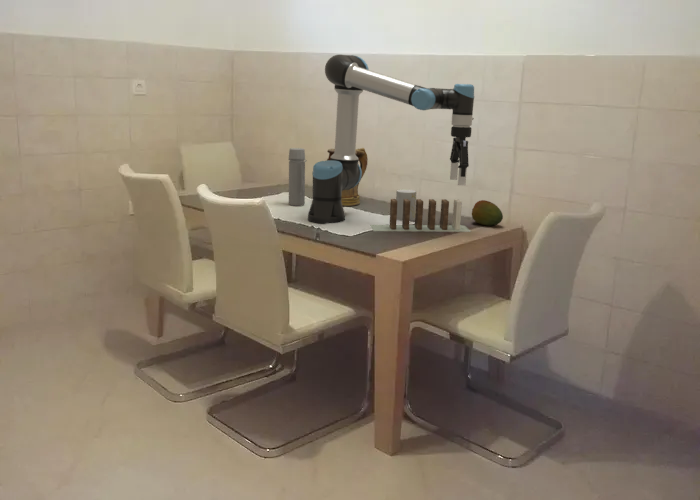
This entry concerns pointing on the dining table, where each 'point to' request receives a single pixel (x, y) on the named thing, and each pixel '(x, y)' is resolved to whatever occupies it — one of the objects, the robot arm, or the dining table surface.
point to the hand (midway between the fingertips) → (457, 182)
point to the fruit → (486, 213)
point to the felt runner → (424, 228)
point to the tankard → (351, 195)
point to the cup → (399, 197)
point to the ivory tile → (456, 214)
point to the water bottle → (296, 176)
